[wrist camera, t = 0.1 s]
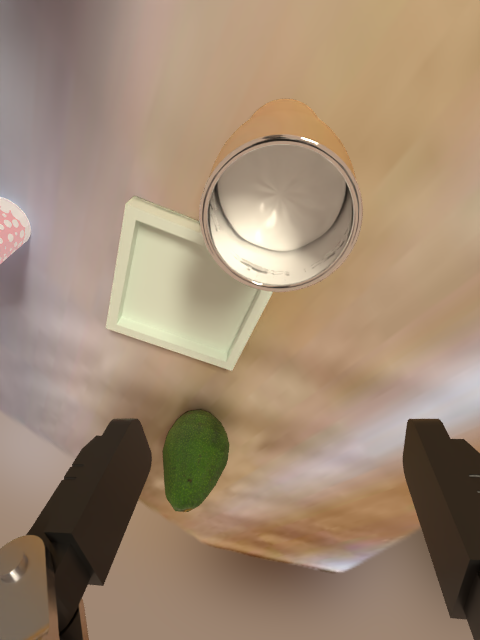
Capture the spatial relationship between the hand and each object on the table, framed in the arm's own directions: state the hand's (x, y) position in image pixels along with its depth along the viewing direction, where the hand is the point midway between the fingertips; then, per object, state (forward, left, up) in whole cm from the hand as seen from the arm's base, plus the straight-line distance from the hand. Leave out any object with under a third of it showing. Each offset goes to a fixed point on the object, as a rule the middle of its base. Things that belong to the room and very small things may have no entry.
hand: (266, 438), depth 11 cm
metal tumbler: (-4, -1, -23) cm, 23 cm away
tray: (+11, -4, -22) cm, 26 cm away
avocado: (+30, +3, -23) cm, 38 cm away
